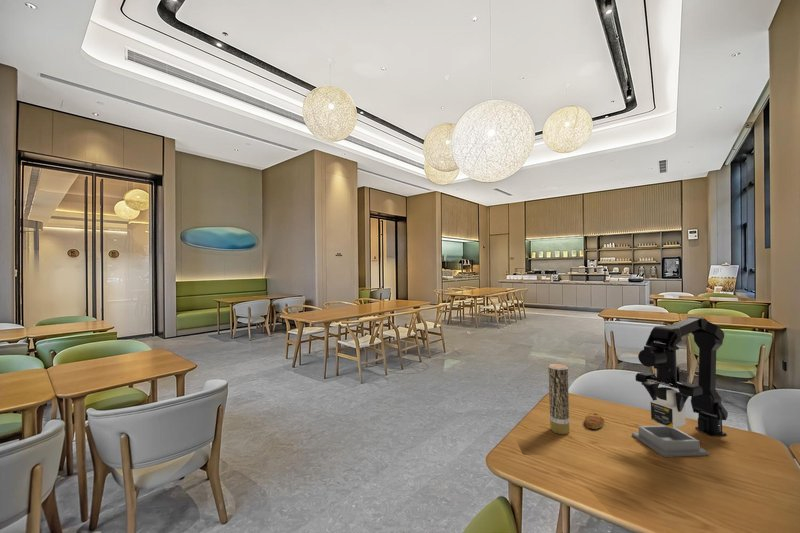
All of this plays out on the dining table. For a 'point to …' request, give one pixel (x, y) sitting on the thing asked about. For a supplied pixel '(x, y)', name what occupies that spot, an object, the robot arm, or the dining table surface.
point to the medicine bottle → (667, 409)
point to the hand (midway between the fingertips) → (667, 407)
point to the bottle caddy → (669, 441)
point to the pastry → (594, 421)
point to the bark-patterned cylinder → (559, 398)
